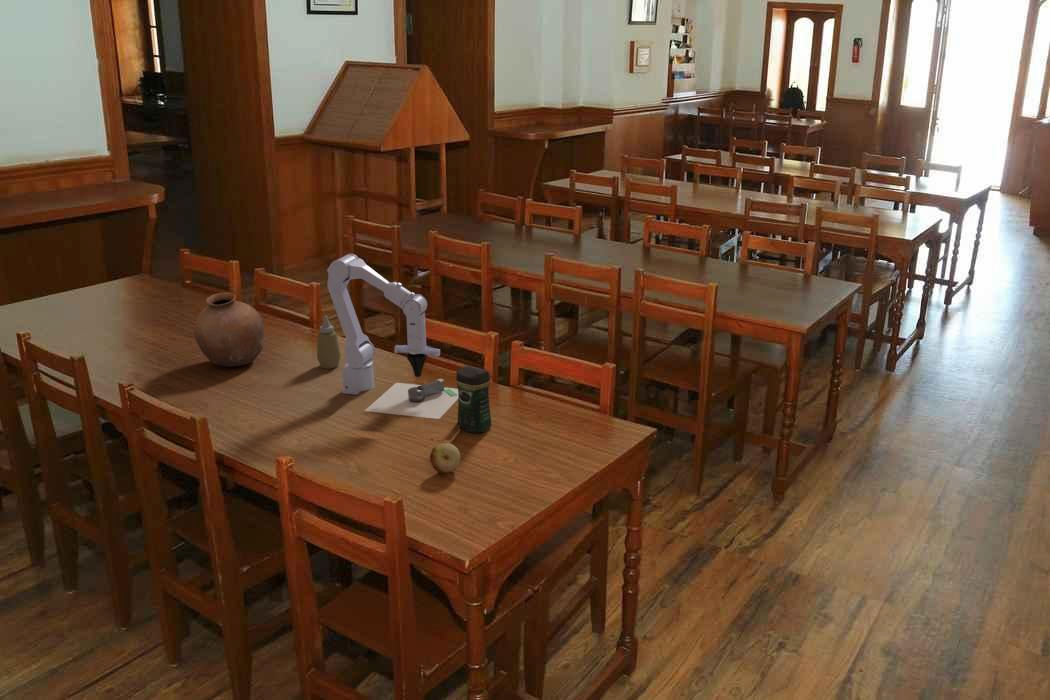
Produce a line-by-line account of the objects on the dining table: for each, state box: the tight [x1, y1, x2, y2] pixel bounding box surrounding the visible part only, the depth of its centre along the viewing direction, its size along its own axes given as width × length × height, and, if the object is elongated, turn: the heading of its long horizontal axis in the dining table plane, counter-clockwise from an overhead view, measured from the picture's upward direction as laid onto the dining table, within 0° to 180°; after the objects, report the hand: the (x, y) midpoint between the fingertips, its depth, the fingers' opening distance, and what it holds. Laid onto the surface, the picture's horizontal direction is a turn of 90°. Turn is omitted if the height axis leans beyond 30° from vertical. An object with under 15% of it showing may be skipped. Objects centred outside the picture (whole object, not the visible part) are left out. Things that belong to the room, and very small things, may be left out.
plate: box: [364, 382, 458, 420], centre depth 294 cm, size 24×24×2 cm
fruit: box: [429, 442, 461, 474], centre depth 250 cm, size 8×8×8 cm
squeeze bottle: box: [316, 315, 342, 370], centre depth 324 cm, size 8×8×18 cm
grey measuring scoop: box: [408, 378, 445, 402], centre depth 296 cm, size 12×5×4 cm, turn 130°
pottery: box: [193, 292, 265, 368], centre depth 327 cm, size 23×23×25 cm
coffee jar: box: [455, 364, 492, 434], centre depth 275 cm, size 10×8×19 cm
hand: (418, 375), depth 298 cm, fingers closed
